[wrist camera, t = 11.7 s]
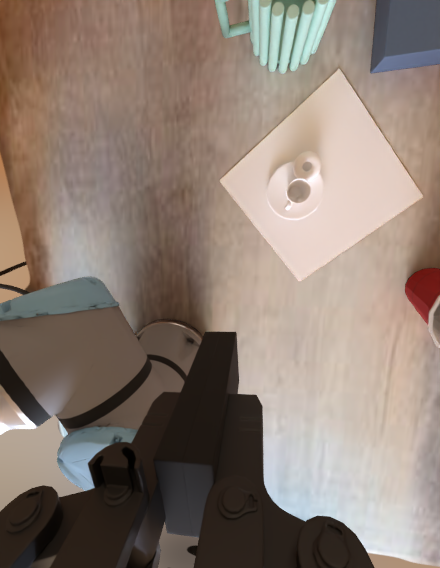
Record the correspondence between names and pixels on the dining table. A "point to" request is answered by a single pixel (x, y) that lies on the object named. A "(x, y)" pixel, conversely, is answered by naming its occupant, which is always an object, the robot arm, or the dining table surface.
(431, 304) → the plastic cup
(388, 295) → the dining table surface
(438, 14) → the block
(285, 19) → the green rod mug
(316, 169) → the teacup and saucer
